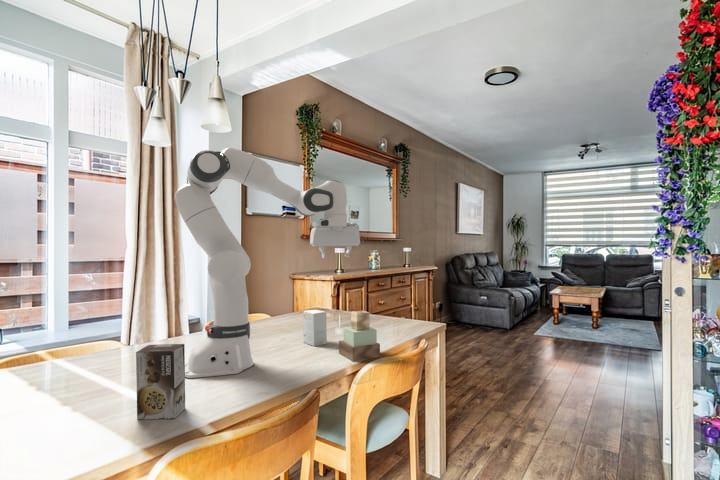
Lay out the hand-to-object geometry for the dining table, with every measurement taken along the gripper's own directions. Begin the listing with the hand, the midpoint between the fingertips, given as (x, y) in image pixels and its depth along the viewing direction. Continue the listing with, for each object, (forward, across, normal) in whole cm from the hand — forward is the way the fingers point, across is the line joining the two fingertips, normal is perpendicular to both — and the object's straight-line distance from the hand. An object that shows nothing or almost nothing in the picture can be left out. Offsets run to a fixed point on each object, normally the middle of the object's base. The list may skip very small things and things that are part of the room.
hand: (335, 257), depth 153 cm
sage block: (+30, -4, +14) cm, 33 cm away
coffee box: (+35, +61, +34) cm, 78 cm away
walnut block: (+35, -3, +13) cm, 38 cm away
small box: (+35, +5, -10) cm, 37 cm away
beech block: (+25, -4, +14) cm, 29 cm away
